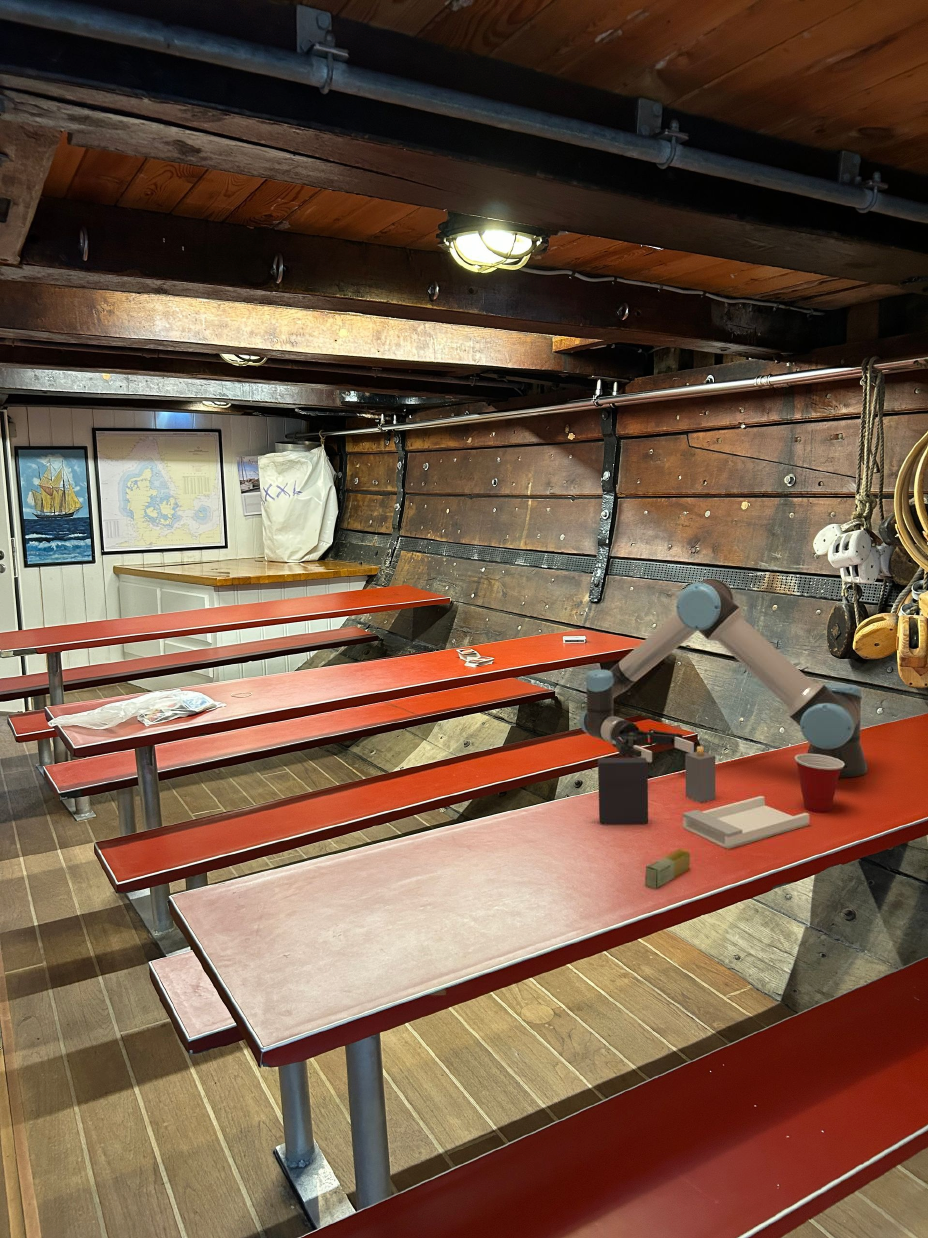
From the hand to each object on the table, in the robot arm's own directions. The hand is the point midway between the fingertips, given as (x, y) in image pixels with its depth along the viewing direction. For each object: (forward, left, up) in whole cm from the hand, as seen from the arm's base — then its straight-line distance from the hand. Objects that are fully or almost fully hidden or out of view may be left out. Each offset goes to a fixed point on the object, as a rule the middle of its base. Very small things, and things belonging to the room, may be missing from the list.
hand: (672, 752), depth 218 cm
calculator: (+25, +12, -9) cm, 29 cm away
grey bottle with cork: (0, +10, -9) cm, 14 cm away
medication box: (+35, +39, -9) cm, 53 cm away
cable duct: (+4, +29, -9) cm, 31 cm away
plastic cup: (-18, +30, -9) cm, 36 cm away
